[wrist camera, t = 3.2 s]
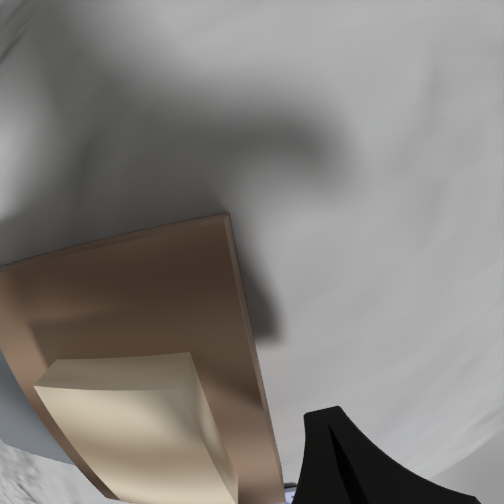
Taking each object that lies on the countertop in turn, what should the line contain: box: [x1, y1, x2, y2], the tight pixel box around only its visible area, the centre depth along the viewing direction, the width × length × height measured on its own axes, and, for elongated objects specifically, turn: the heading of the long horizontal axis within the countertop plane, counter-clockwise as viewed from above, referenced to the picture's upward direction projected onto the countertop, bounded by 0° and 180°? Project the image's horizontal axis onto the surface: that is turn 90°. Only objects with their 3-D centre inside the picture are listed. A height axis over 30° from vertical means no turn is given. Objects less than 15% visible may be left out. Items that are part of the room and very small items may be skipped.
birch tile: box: [33, 352, 238, 504], centre depth 9 cm, size 8×6×2 cm
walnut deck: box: [0, 213, 286, 504], centre depth 12 cm, size 16×12×3 cm
